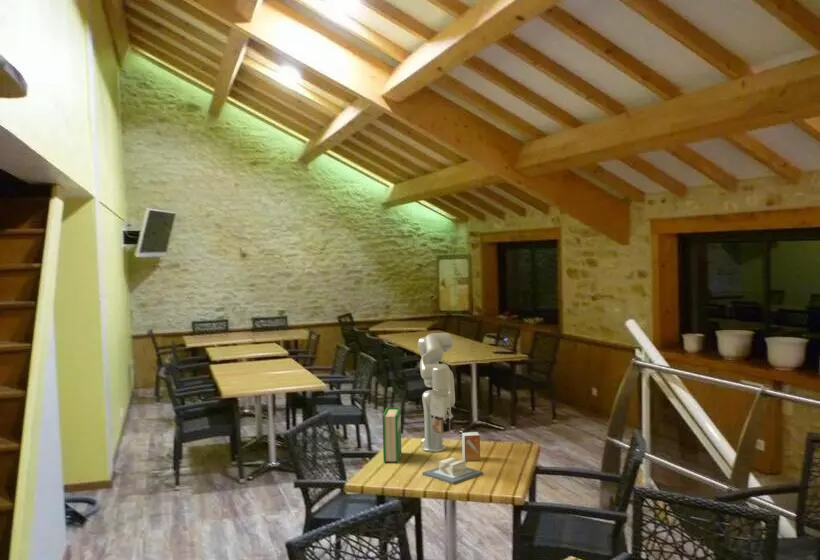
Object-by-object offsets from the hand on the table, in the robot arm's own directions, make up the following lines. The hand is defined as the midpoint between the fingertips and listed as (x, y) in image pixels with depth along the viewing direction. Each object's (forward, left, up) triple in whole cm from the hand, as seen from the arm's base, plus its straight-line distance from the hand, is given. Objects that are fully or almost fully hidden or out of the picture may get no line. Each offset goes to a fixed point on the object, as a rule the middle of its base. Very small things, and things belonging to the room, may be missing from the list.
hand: (441, 429), depth 333 cm
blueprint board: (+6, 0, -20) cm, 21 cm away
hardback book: (-35, -1, -20) cm, 40 cm away
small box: (-4, +24, -20) cm, 32 cm away
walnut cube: (0, 0, -1) cm, 1 cm away
